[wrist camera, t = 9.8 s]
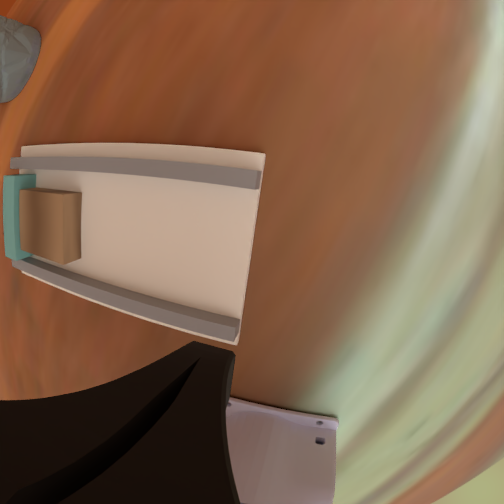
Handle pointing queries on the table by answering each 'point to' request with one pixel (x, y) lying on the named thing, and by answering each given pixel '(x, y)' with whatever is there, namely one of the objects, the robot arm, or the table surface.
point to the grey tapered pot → (16, 56)
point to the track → (149, 229)
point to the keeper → (50, 223)
